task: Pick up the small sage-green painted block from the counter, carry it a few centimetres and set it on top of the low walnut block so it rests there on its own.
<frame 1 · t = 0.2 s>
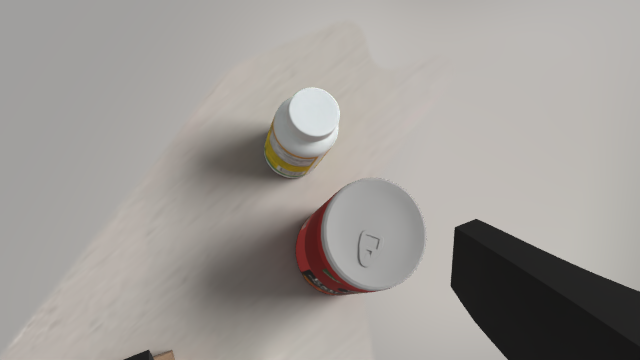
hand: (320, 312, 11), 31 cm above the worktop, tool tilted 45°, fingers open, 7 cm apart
canned food: (334, 251, 43), on the worktop
supplement bottle: (291, 152, 45), on the worktop
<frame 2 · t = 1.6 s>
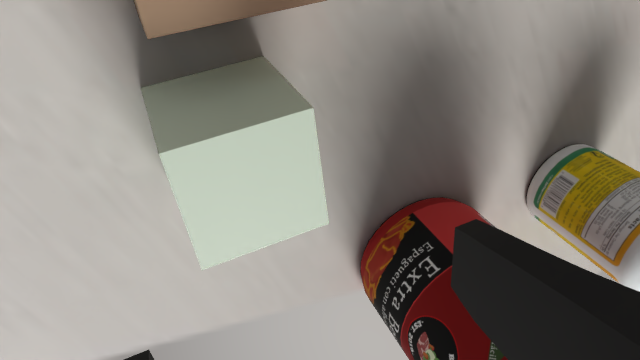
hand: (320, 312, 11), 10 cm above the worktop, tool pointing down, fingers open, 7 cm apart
sage block: (218, 125, 18), on the worktop
canned food: (415, 247, 27), on the worktop
supplement bottle: (556, 178, 29), on the worktop
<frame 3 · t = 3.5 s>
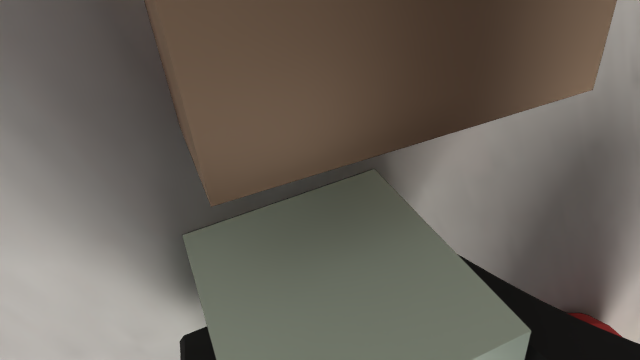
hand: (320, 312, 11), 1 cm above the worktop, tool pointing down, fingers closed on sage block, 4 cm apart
sage block: (297, 271, 12), on the worktop, touching gripper
when the fingers open (5 cm above the worktop, at t = 7.8 s): sage block drops 1 cm, resting on walnut block.
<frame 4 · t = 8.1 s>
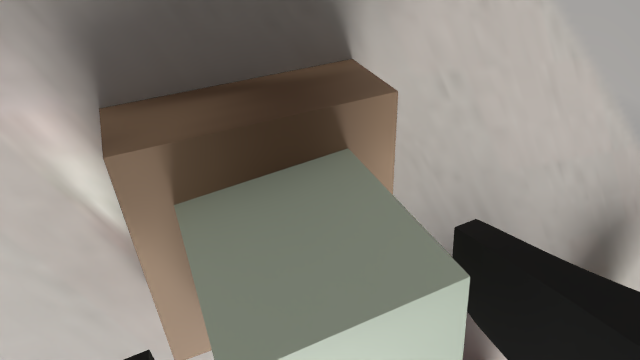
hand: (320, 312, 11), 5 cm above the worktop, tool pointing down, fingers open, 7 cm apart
sage block: (280, 242, 13), point 3 cm above the worktop, touching walnut block
walnut block: (248, 180, 15), on the worktop, touching sage block
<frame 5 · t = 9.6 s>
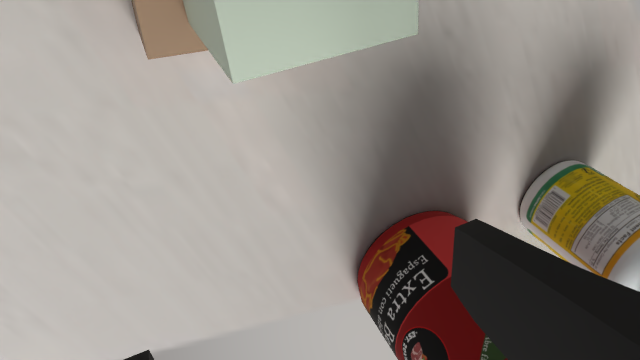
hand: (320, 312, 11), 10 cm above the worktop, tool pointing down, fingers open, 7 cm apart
canned food: (411, 258, 28), on the worktop
supplement bottle: (549, 193, 30), on the worktop
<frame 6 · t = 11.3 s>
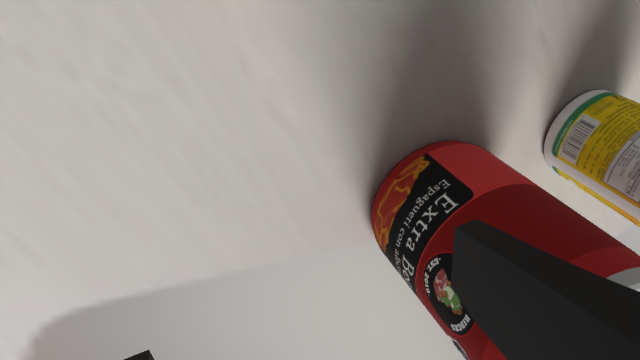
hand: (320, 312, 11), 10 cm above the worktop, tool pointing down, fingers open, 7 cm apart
canned food: (428, 196, 26), on the worktop
supplement bottle: (574, 129, 28), on the worktop
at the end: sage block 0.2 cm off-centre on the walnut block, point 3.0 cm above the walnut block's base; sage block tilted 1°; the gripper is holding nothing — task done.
